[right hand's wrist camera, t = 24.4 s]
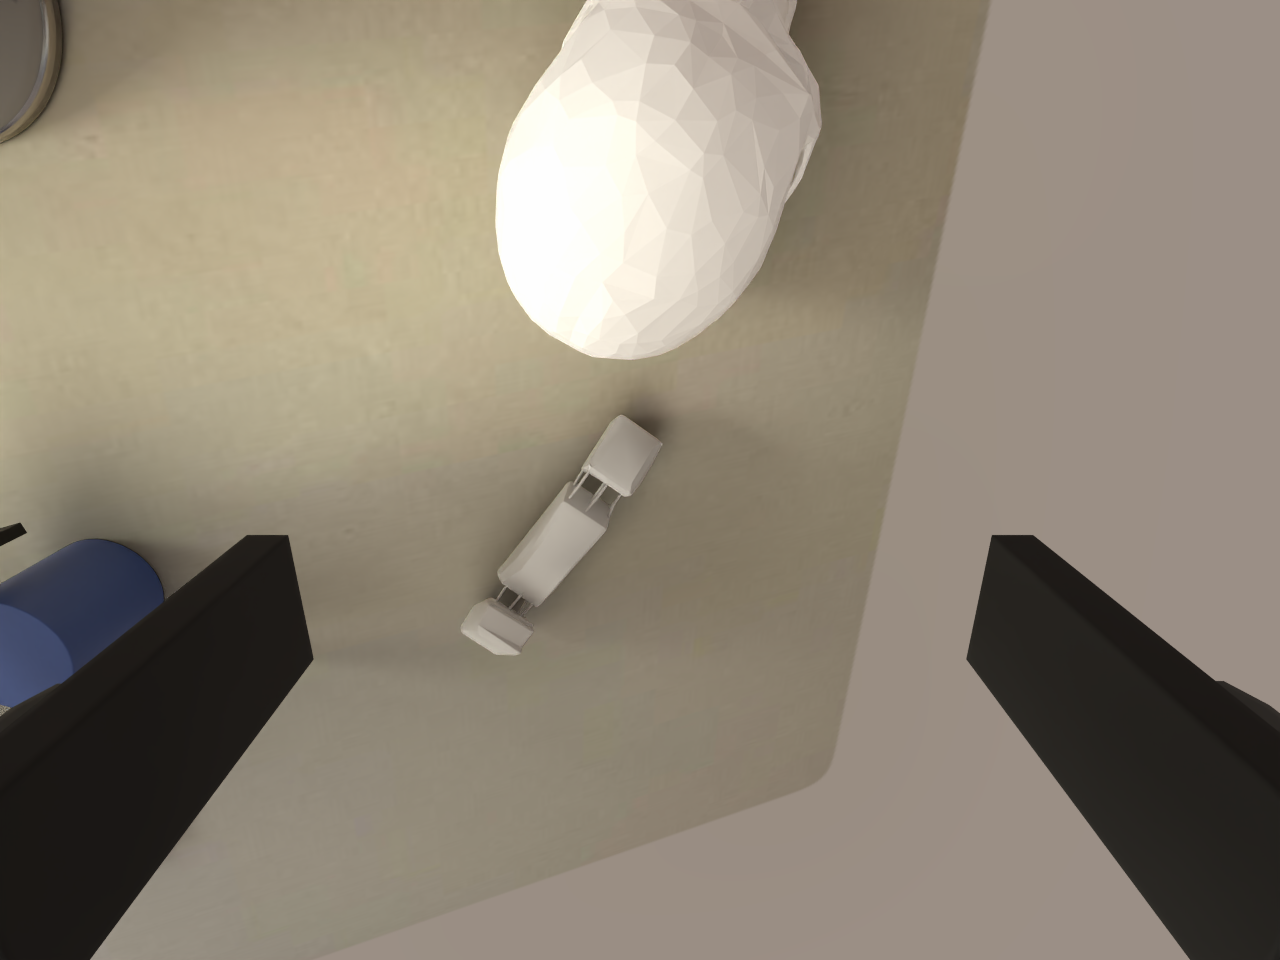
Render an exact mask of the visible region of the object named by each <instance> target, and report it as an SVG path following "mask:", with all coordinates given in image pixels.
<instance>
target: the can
mask: <svg viewBox="0 0 1280 960" xmlns="http://www.w3.org/2000/svg"><path fill="white" fill-rule="evenodd" d="M163 602H164V593H163V589H162V585H161V583H160V580H159V578H158V576H157V575H156V573H155V572H154V570H153V569H152V568H151V566H150V565H149V564H148V563H147V562H146V561H145V560H144V559H143V558H142V557H140V556H139V555H138V554H136V553H135V552H133V551H132V550H130V549H128V548H126V547H124V546H122V545H120V544H117V543H114V542H110V541H106V540H99V539H88V540H81V541H77V542H74V543H72V544H70V545H68V546H66V547H64V548H63V549H61V550H59V551H57V552H55V553H54V554H52V555H50V556H48V557H47V558H45V559H43V560H41V561H40V562H38V563H36V564H34V565H33V566H31V567H29V568H27V569H26V570H24V571H22V572H20V573H18V574H17V575H15V576H13V577H11V578H10V579H8V580H6V581H4V582H3V583H1V584H0V705H3V706H8V707H14V706H16V705H18V704H20V703H21V702H23V701H25V700H27V699H29V698H31V697H33V696H35V695H37V694H38V693H40V692H42V691H44V690H46V689H48V688H50V687H52V686H53V685H55V684H62V683H63V682H64V681H65V680H67V679H68V678H69V677H70V676H72V675H73V674H74V673H75V672H77V671H78V670H79V669H80V668H82V667H83V666H84V665H85V664H87V663H88V662H89V661H90V660H92V659H93V658H94V657H95V656H97V655H98V654H99V653H100V652H102V651H103V650H104V649H105V648H107V647H108V646H109V645H110V644H112V643H113V642H114V641H115V640H117V639H118V638H119V637H120V636H122V635H123V634H124V633H125V632H127V631H128V630H129V629H130V628H132V627H133V626H134V625H135V624H137V623H138V622H139V621H140V620H142V619H143V618H144V617H145V616H147V615H148V614H149V613H150V612H152V611H153V610H154V609H155V608H157V607H158V606H159V605H160V604H162V603H163Z"/></svg>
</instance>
